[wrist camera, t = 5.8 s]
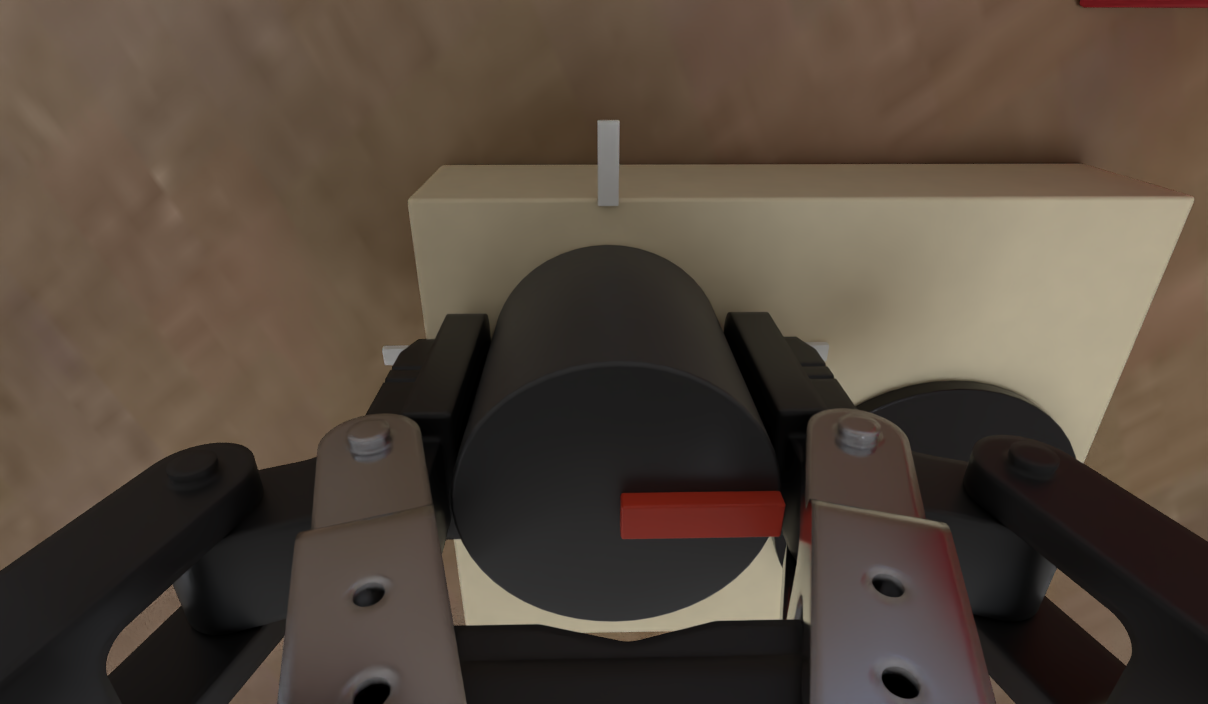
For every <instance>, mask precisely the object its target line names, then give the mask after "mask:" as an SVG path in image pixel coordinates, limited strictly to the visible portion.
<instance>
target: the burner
mask: <svg viewBox="0 0 1208 704" xmlns="http://www.w3.org/2000/svg"><path fill="white" fill-rule="evenodd" d="M855 407H856V408H857V409H858V410H861V411H866V412H869V413H873V414H875V415H878V416H881V417H883V418H885V419H887V420H889V421H890V422H892V423H894V424H895V425H896V426H898V427H899V428H900V429H901V430H902V431H903V432H904V433H905V434H906V436H907V437H908V440H909V443H910V448H911V451H915V452H918V453H923V454H927V455H933V456H938V457H944V458H949V459H955V460H961V461H966V462H969V459H970V456H971V453H972V450H973V447H974V445H975V443H976V442H977V441H978V440H980V439H982V438H984V437H988V436H993V435H1014V436H1020V437H1025V438H1030V439H1034V440H1037V441H1040V442H1043V443H1046V444H1049V445H1051V446H1053V447H1056V448H1058V449H1060V450H1062V451H1064V452H1065V453H1067V454H1069V455H1071V456H1072V457H1074V458H1075V459H1076V455H1075V453H1074V450H1073V448H1072V445H1071V443H1070V440H1069V439H1068V437H1067V436H1066V434H1065V433H1064V431H1063V429H1062V428H1061V427H1060V426H1059V425H1058V424H1057V423H1056V422H1055V421H1054V420H1053V419H1052V418H1051V416H1049V415H1048V414H1047V413H1046V412H1045V411H1044V410H1042V409H1041V408H1040V407H1039V406H1037V405H1036V404H1034V403H1033V402H1032V401H1030V400H1029V399H1027V398H1025V397H1023V396H1021V395H1019V394H1017V393H1015V392H1013V391H1011V390H1008V389H1005V388H1002V387H998V386H995V385H991V384H985V383H980V382H974V381H956V380H950V381H935V382H927V383H921V384H916V385H910V386H906V387H903V388H899V389H896V390H892V391H889V392H886V393H884V394H881V395H879V396H876V397H874V398H871V399H869V400H867V401H865V402H863V403H861V404H859V405H857V406H855ZM772 541H773V545H774V548H775V552H776V555H777V557H778V560H779V563H780V565H781V567H782V569H783V562H784V556H785V550H786V545H787V543H786V540H785V538H784V535H780V536H779V537H772Z"/></svg>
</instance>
